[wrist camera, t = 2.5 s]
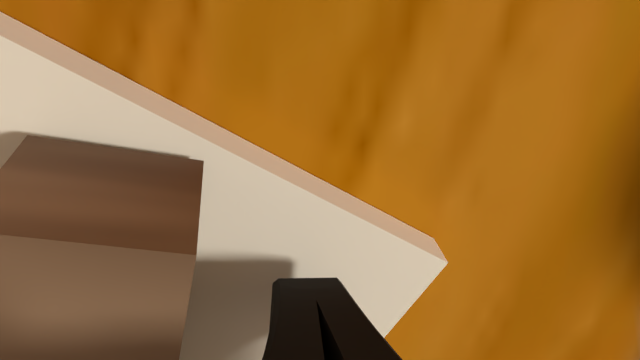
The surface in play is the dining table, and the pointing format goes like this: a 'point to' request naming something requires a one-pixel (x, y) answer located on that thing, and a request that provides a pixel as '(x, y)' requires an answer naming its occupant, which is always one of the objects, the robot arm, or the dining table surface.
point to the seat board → (220, 199)
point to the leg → (95, 251)
